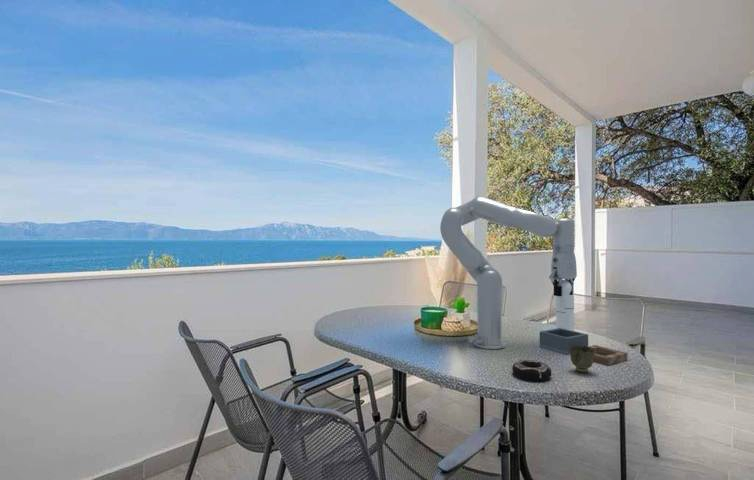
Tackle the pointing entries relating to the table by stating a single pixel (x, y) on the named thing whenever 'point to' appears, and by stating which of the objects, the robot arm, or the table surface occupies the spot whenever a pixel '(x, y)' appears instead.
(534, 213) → the robot arm
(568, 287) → the lightbulb
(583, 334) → the grey open box
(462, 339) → the table surface
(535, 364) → the donut
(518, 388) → the table surface
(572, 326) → the cylindrical container
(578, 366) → the cup
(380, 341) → the table surface
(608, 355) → the socket block
